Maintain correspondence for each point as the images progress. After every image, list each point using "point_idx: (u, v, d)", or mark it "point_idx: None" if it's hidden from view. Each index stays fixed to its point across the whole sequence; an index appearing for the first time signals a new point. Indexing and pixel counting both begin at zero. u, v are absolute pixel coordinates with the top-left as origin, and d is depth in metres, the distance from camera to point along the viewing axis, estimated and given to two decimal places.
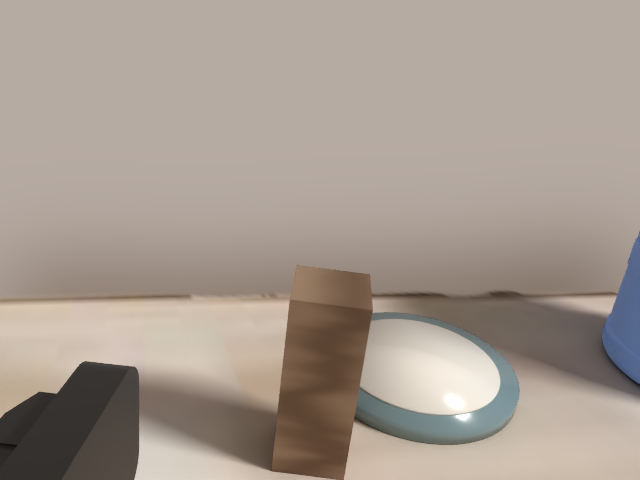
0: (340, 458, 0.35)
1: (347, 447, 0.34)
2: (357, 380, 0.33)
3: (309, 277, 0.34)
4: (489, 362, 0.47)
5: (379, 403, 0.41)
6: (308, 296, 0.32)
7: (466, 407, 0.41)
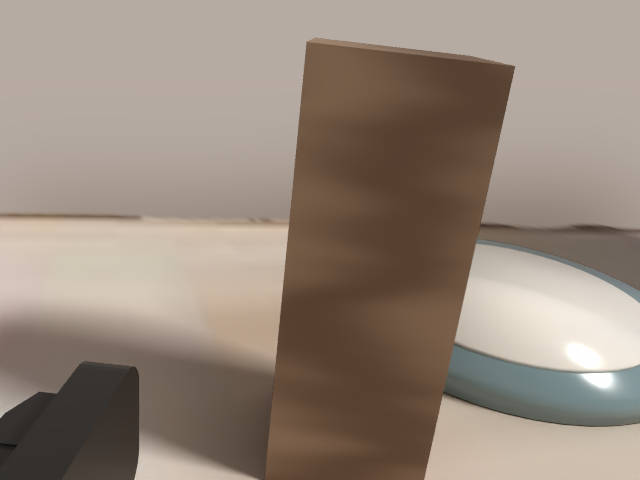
0: (415, 452, 0.16)
1: (432, 425, 0.16)
2: (464, 262, 0.14)
3: (346, 42, 0.15)
4: (625, 297, 0.29)
5: (463, 352, 0.22)
6: (349, 46, 0.13)
7: (622, 359, 0.23)
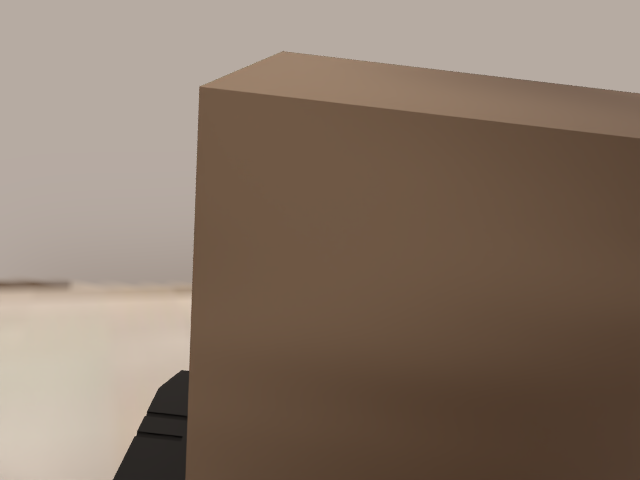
0: None
1: None
2: None
3: (357, 67, 0.06)
4: None
5: None
6: (375, 95, 0.04)
7: None
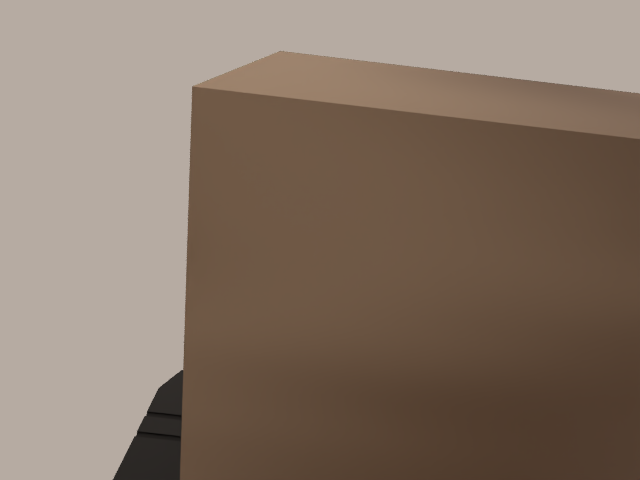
0: None
1: None
2: None
3: (354, 67, 0.06)
4: None
5: None
6: (371, 94, 0.03)
7: None
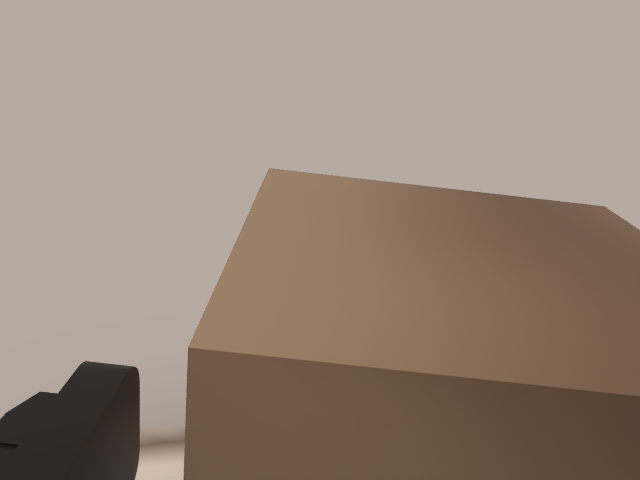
0: None
1: None
2: None
3: (336, 211, 0.06)
4: None
5: None
6: (346, 316, 0.04)
7: None
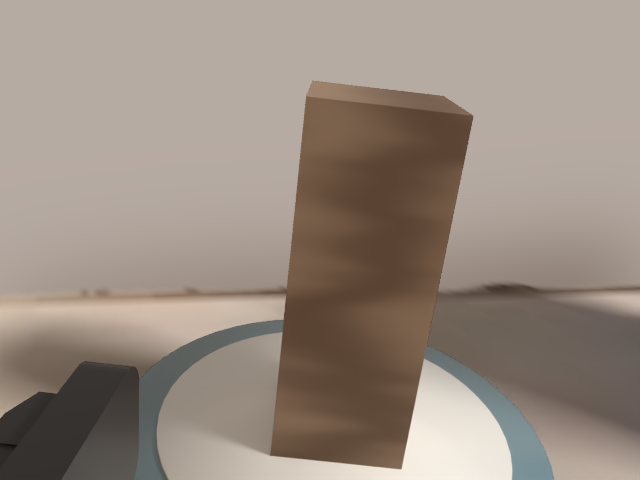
0: (397, 430, 0.19)
1: (411, 407, 0.19)
2: (435, 272, 0.17)
3: (338, 88, 0.18)
4: (487, 419, 0.23)
5: None
6: (340, 97, 0.16)
7: None
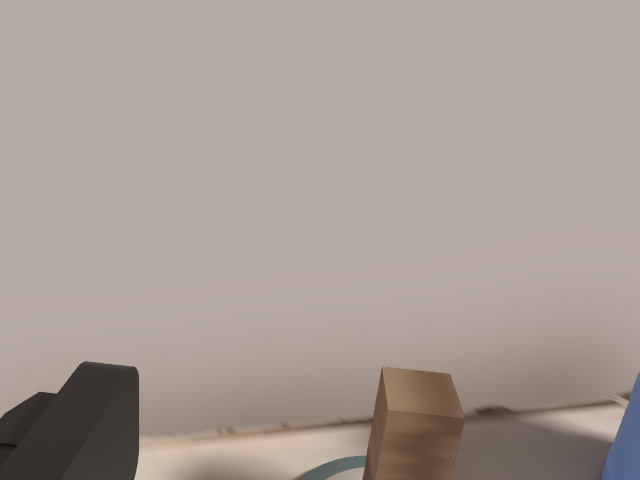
0: None
1: None
2: (446, 479, 0.35)
3: (398, 381, 0.36)
4: None
5: None
6: (403, 404, 0.34)
7: None
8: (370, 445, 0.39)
